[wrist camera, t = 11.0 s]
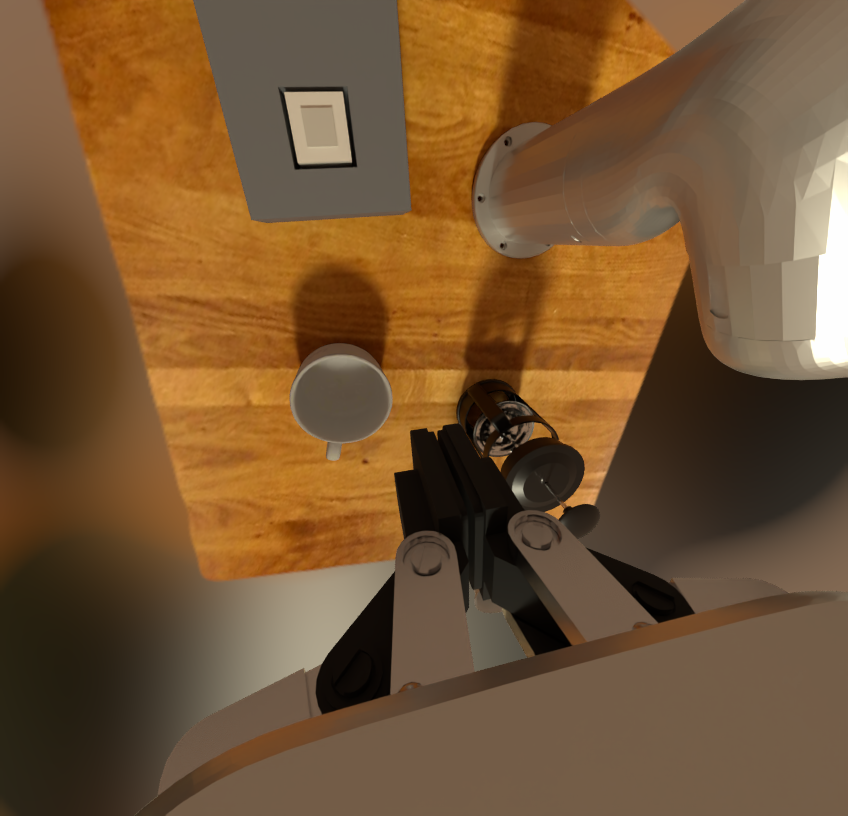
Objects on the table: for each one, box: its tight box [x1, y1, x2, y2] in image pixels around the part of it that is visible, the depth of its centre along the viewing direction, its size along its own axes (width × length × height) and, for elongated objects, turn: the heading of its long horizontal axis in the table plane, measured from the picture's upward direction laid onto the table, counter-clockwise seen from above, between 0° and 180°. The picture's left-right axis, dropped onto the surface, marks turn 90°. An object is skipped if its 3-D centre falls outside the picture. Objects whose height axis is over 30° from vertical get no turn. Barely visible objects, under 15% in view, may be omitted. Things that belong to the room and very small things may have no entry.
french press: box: [457, 379, 600, 539], centre depth 39 cm, size 12×9×23 cm
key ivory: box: [284, 92, 352, 169], centre depth 28 cm, size 4×4×3 cm
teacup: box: [290, 343, 392, 460], centre depth 40 cm, size 14×11×8 cm
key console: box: [193, 0, 411, 223], centre depth 27 cm, size 14×24×6 cm, turn 4°
